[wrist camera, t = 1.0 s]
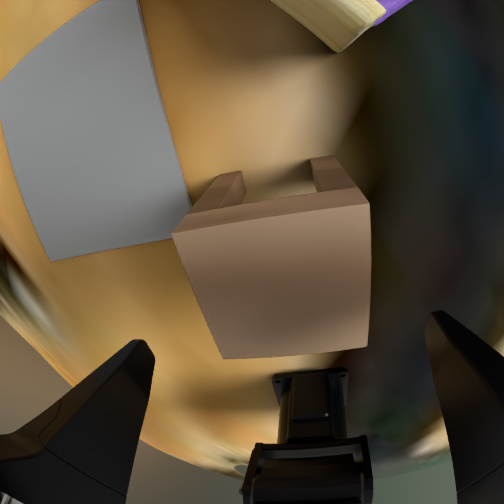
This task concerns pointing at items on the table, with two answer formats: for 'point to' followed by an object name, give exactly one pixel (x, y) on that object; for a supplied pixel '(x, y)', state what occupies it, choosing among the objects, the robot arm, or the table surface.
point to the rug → (93, 136)
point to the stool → (281, 266)
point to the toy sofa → (340, 17)
